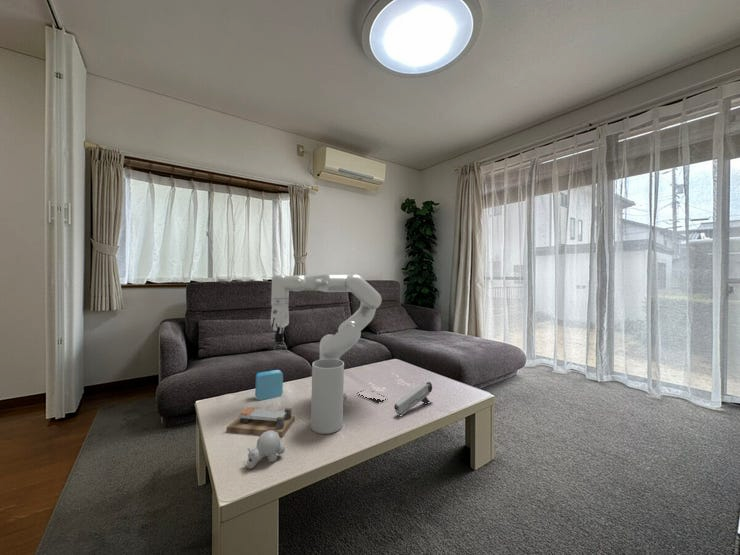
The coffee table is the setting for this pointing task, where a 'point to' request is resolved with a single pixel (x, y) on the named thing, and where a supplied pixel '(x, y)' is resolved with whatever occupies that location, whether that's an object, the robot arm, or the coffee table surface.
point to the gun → (413, 398)
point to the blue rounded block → (269, 384)
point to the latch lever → (261, 414)
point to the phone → (373, 398)
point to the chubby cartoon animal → (265, 449)
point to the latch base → (262, 425)
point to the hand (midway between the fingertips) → (279, 341)
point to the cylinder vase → (327, 395)
